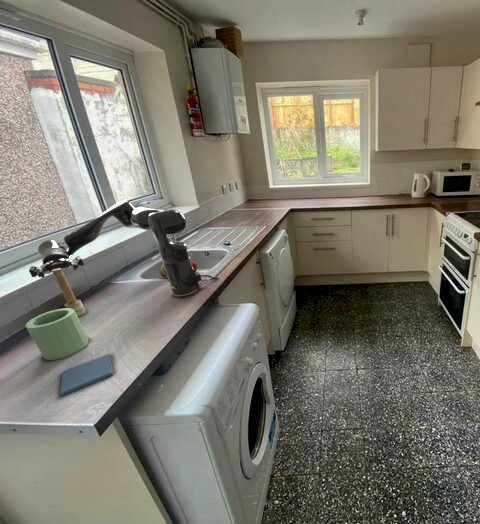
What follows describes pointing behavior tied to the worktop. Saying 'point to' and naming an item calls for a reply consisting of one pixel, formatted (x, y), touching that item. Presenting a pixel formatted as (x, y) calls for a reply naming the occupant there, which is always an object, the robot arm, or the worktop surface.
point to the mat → (86, 374)
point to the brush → (68, 293)
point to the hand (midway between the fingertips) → (58, 271)
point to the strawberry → (194, 265)
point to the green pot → (57, 333)
